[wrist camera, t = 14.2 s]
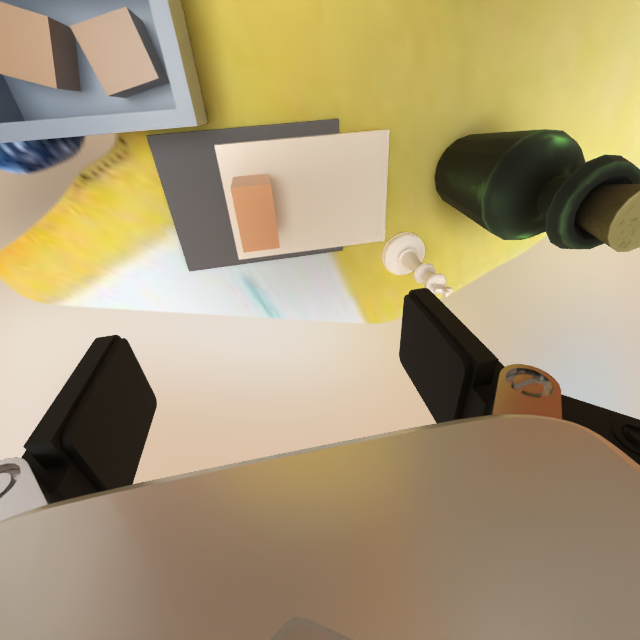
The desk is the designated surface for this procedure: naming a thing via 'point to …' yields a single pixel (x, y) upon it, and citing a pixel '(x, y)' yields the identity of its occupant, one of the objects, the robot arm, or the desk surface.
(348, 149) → the snap lid
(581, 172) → the potion bottle
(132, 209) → the desk surface
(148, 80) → the parts tub
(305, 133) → the rubber mat
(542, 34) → the desk surface
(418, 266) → the chess piece
